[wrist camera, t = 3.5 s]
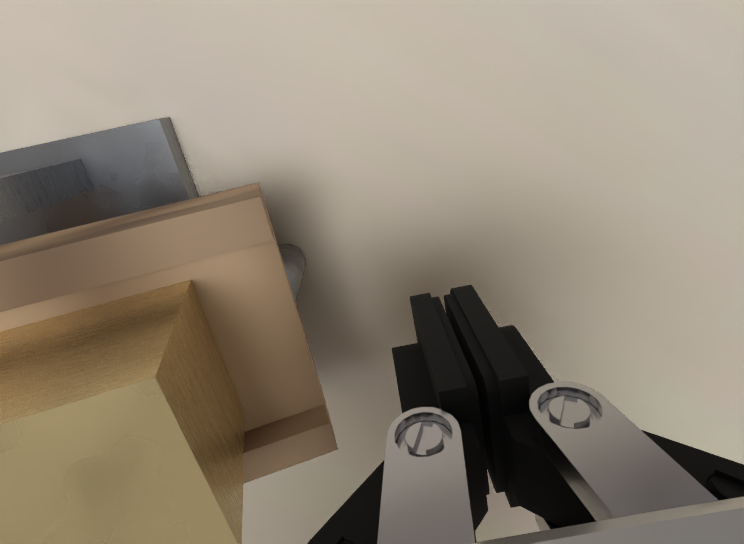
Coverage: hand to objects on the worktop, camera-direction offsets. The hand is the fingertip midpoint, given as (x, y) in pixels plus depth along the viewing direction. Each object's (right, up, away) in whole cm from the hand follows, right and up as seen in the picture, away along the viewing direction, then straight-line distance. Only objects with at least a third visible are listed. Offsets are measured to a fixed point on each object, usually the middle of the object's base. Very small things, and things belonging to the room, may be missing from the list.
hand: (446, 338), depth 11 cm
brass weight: (-10, -1, +1) cm, 10 cm away
